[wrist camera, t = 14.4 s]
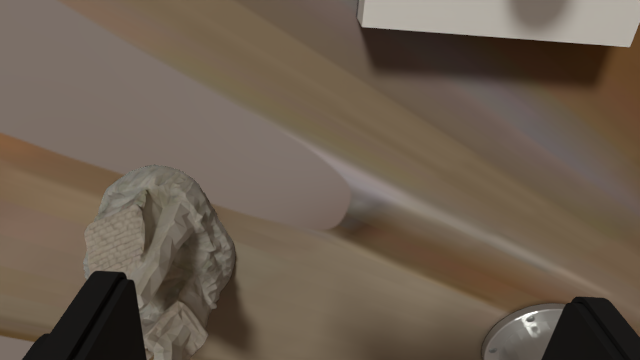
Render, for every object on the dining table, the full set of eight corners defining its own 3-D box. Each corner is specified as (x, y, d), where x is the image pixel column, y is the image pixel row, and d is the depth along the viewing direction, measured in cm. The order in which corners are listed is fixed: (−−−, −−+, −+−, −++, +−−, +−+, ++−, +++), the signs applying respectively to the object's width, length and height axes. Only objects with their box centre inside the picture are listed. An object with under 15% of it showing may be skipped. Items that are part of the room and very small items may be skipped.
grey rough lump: (198, 155, 39) (124, 275, 26) (254, 291, 47) (220, 434, 34) (41, 185, 41) (-97, 308, 28) (121, 309, 49) (41, 449, 36)
